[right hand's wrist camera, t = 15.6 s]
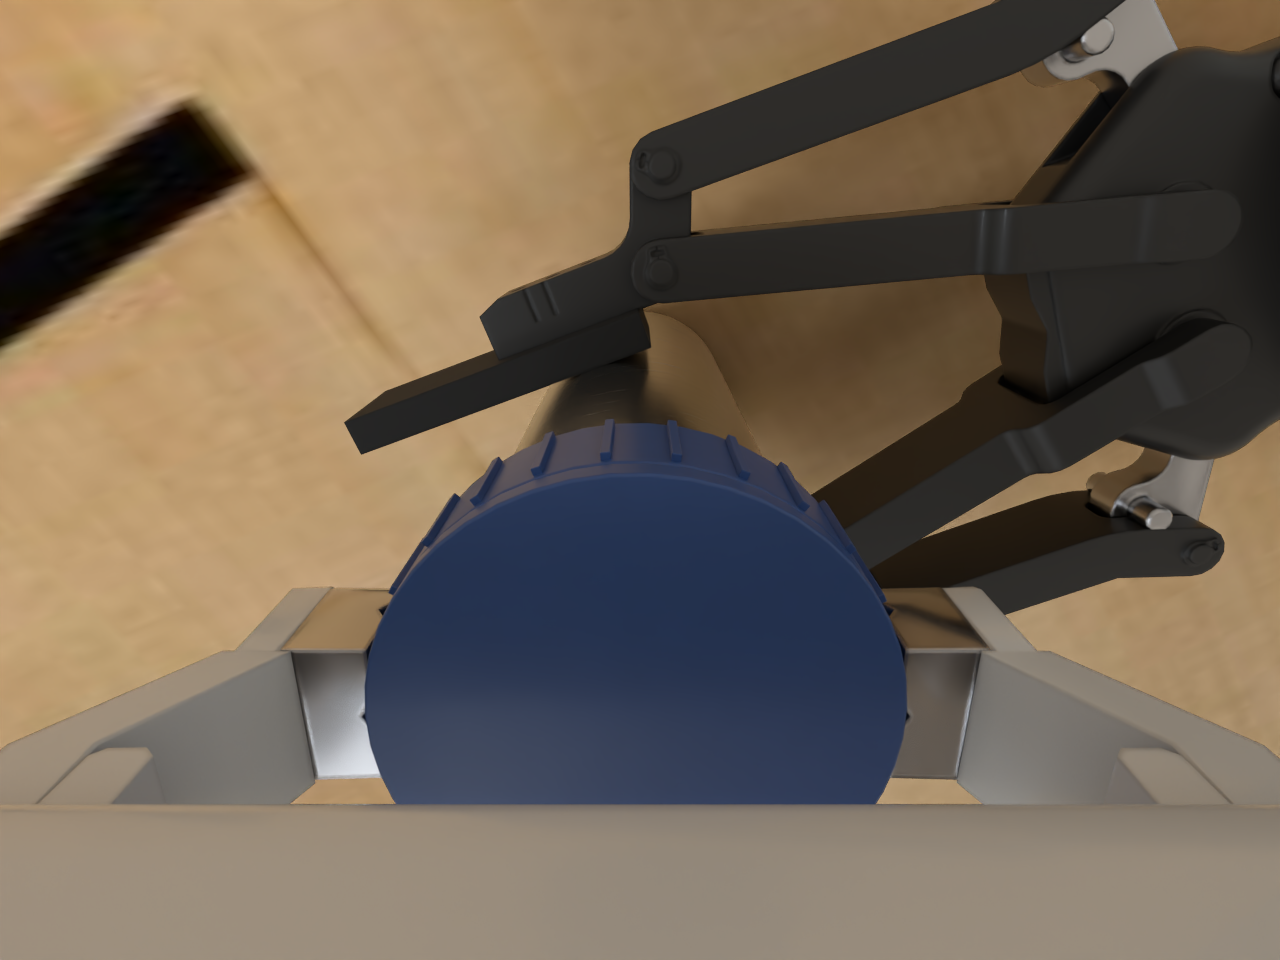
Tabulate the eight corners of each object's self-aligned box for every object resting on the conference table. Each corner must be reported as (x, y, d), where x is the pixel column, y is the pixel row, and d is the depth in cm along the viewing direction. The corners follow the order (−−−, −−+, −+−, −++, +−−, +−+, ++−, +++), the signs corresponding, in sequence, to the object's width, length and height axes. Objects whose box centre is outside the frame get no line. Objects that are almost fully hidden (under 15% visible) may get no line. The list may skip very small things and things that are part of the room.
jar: (754, 402, 23) (936, 712, 9) (630, 502, 24) (616, 915, 10) (648, 274, 22) (662, 397, 8) (522, 385, 23) (330, 673, 9)
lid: (795, 344, 9) (835, 377, 7) (910, 750, 11) (964, 856, 9) (324, 508, 9) (250, 577, 8) (516, 859, 11) (493, 977, 10)
